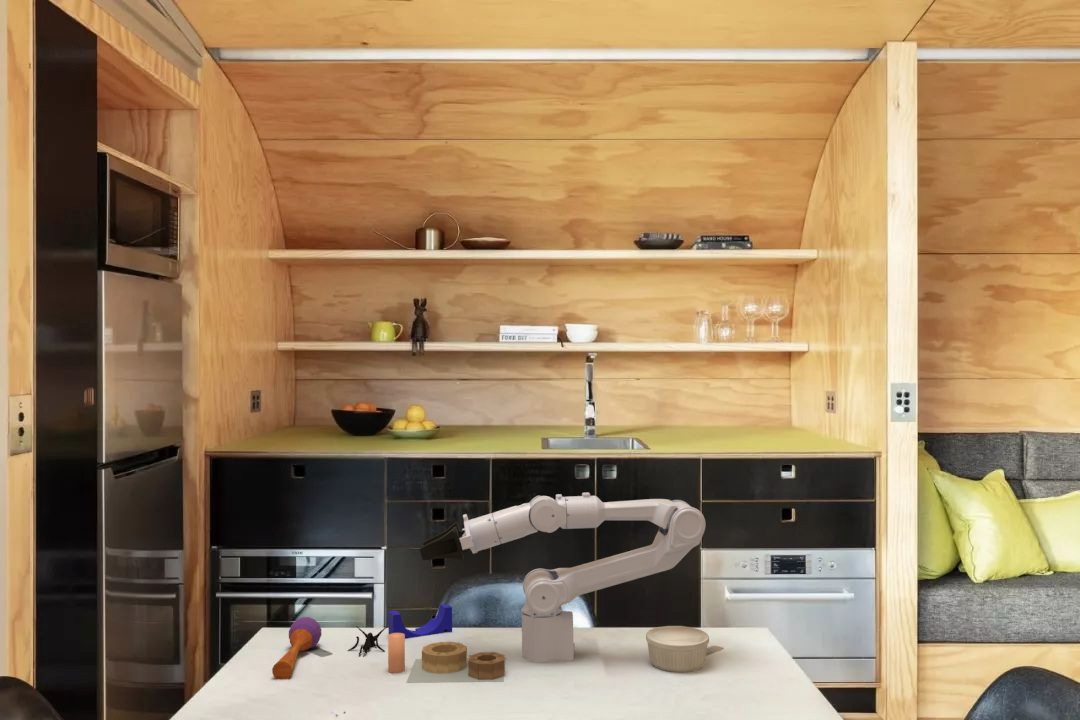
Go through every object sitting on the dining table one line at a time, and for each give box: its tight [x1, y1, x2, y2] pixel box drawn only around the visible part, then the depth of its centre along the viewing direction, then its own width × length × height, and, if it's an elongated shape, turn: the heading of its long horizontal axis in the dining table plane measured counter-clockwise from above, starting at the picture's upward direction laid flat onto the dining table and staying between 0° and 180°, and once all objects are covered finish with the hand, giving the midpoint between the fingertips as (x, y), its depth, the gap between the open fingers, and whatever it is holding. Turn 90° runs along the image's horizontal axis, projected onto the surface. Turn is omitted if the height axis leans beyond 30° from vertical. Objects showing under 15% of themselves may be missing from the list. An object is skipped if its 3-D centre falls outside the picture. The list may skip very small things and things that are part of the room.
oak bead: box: [421, 641, 468, 674], centre depth 152 cm, size 8×8×3 cm
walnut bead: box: [468, 651, 506, 680], centre depth 148 cm, size 6×6×3 cm
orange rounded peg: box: [387, 633, 406, 674], centre depth 150 cm, size 3×3×7 cm
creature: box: [347, 625, 388, 658], centre depth 161 cm, size 8×5×8 cm
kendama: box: [271, 616, 322, 680], centre depth 159 cm, size 6×6×20 cm
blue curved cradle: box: [387, 603, 453, 640], centre depth 172 cm, size 12×4×6 cm, turn 118°
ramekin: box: [645, 625, 710, 673], centre depth 156 cm, size 11×11×5 cm
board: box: [406, 657, 506, 684], centre depth 150 cm, size 16×12×1 cm
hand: (422, 551), depth 156 cm, fingers open, 7 cm apart
